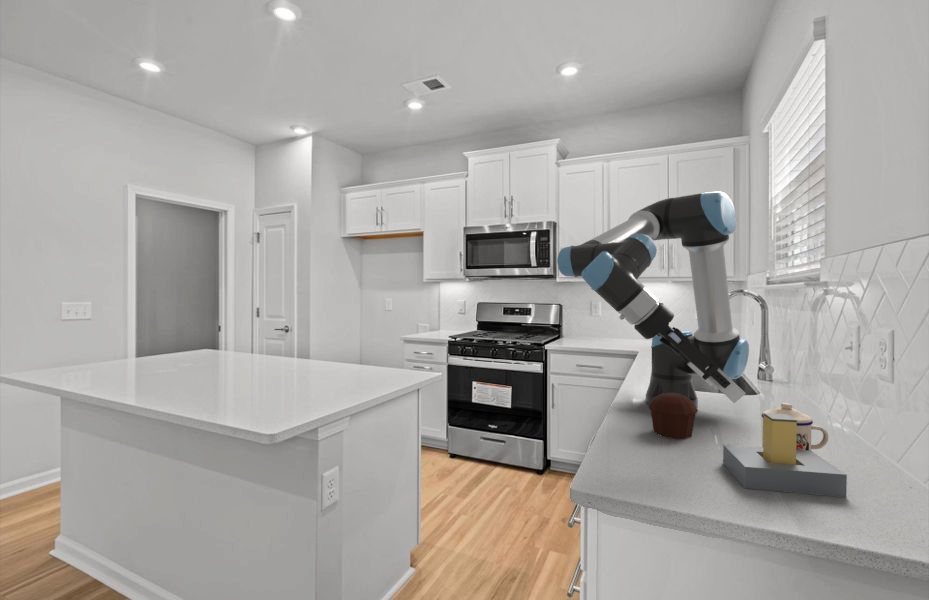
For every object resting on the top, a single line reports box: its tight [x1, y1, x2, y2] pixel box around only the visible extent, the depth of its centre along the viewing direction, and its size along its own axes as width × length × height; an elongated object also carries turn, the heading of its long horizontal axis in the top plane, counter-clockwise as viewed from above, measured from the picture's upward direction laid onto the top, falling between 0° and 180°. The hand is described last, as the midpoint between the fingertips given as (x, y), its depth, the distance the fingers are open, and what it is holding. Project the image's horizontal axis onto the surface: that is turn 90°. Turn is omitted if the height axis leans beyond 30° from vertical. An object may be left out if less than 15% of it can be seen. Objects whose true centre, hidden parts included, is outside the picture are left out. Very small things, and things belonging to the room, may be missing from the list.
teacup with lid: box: [761, 402, 829, 451], centre depth 97 cm, size 12×9×12 cm
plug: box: [762, 413, 797, 465], centre depth 86 cm, size 4×4×11 cm
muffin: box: [647, 393, 699, 440], centre depth 114 cm, size 12×11×10 cm
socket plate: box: [722, 444, 848, 498], centre depth 86 cm, size 12×16×4 cm
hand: (726, 389), depth 89 cm, fingers open, 13 cm apart
